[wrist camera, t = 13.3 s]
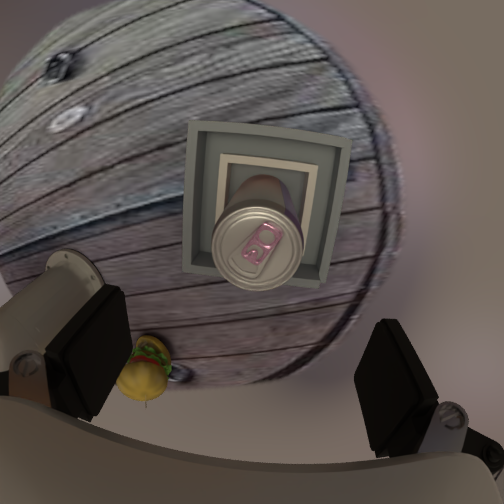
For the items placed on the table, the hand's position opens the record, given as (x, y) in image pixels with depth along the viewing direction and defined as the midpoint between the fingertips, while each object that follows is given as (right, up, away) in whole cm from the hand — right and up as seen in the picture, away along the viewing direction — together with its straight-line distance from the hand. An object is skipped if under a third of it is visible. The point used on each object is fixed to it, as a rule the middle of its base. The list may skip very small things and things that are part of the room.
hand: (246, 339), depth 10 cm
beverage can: (+1, +9, +22) cm, 23 cm away
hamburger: (-15, -12, +32) cm, 38 cm away
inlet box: (+2, +9, +22) cm, 24 cm away
